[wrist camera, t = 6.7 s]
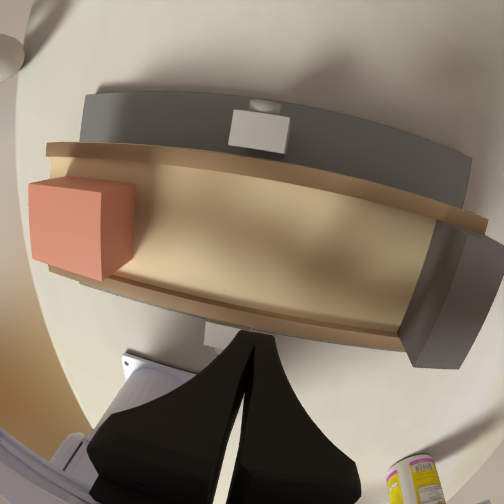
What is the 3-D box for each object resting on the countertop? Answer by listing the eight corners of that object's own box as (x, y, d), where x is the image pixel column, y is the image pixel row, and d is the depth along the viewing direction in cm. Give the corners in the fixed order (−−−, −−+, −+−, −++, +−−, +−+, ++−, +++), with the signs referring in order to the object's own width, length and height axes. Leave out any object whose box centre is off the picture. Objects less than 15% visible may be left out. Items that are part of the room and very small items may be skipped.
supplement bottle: (393, 481, 28) (403, 553, 16) (378, 468, 27) (388, 551, 15) (436, 461, 26) (454, 533, 14) (426, 445, 25) (448, 529, 13)
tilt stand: (405, 345, 20) (428, 393, 15) (86, 279, 22) (43, 309, 17) (464, 157, 15) (515, 163, 10) (93, 96, 17) (41, 87, 12)
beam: (427, 339, 15) (451, 381, 11) (63, 263, 17) (23, 286, 13) (474, 213, 12) (517, 233, 9) (63, 141, 14) (15, 145, 10)
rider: (132, 258, 15) (101, 281, 12) (65, 242, 15) (32, 258, 12) (136, 183, 14) (101, 192, 11) (65, 176, 14) (28, 183, 11)
